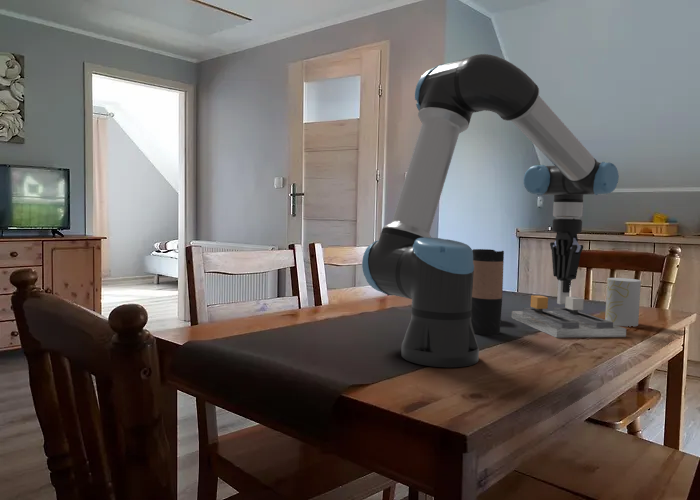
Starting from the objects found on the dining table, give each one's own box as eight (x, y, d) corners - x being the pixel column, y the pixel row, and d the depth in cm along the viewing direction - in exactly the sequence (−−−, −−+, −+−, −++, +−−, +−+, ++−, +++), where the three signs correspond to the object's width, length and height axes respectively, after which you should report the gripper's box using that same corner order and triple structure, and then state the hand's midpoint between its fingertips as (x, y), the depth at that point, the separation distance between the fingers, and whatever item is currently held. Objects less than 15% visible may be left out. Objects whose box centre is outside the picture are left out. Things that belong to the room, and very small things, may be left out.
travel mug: (468, 334, 134) (471, 250, 133) (469, 327, 141) (472, 248, 140) (501, 336, 132) (504, 251, 131) (500, 330, 140) (503, 249, 138)
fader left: (536, 315, 148) (537, 297, 148) (530, 313, 152) (531, 295, 151) (547, 315, 149) (548, 297, 148) (540, 313, 152) (541, 295, 152)
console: (556, 337, 132) (557, 324, 132) (511, 318, 156) (512, 306, 156) (625, 336, 135) (626, 323, 135) (571, 317, 159) (571, 306, 159)
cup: (598, 321, 155) (600, 277, 154) (622, 320, 158) (624, 277, 157) (620, 327, 147) (623, 281, 147) (645, 325, 150) (648, 281, 149)
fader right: (572, 316, 148) (573, 298, 147) (564, 314, 151) (565, 296, 151) (582, 316, 148) (583, 298, 148) (575, 314, 152) (576, 296, 151)
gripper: (594, 218, 147) (589, 307, 149) (567, 218, 160) (562, 300, 162) (567, 218, 146) (563, 307, 148) (542, 217, 159) (538, 300, 160)
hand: (563, 303), depth 155 cm, fingers closed
